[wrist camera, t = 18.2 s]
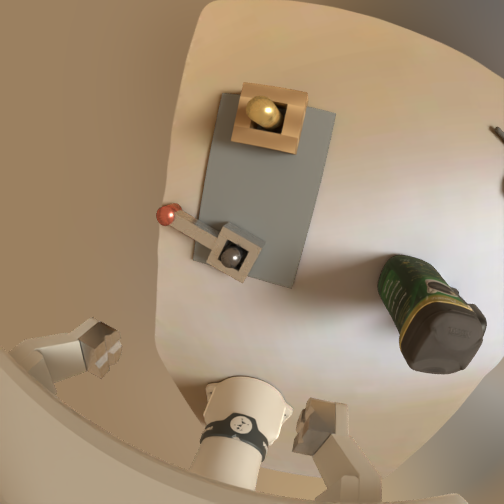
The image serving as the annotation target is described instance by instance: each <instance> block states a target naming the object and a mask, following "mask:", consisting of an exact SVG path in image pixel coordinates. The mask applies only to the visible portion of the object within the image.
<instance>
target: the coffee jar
mask: <svg viewBox="0 0 504 504" xmlns="http://www.w3.org/2000/svg"><path fill="white" fill-rule="evenodd" d="M378 292H379V295H380V297H381V299H382V301H383V303H384V305H385V306H386V308H387V310H388V311H389V313H390V315H391V317H392V319H393V321H394V323H395V325H396V327H397V329H398V331H399V334H400V337H399V346H400V350H401V352H402V354H403V356H404V358H405V360H406V362H407V364H408V365H409V367H410V368H411V369H413V370H415V371H420V372H425V373H432V374H450V373H454V372H457V371H460V370H464V369H465V368H466V367H467V366H468V364H469V363H470V362H471V360H472V359H473V357H474V356H475V354H476V353H477V351H478V349H479V348H480V346H481V344H482V341H483V328H482V325H481V323H480V321H479V319H478V318H477V316H476V314H475V313H474V312H473V311H472V310H471V309H470V308H469V307H468V306H467V305H466V304H465V303H464V302H463V301H462V300H461V299H460V298H459V297H458V296H457V295H456V294H455V293H454V291H453V290H452V289H451V288H450V286H449V285H448V284H447V283H446V282H445V280H444V279H443V278H442V277H441V275H440V274H439V273H438V272H437V270H436V269H435V268H434V267H433V266H432V265H431V264H429V263H427V262H425V261H423V260H420V259H417V258H414V257H411V256H405V255H397V256H394V257H392V258H391V259H389V260H388V262H387V263H386V264H385V266H384V268H383V270H382V273H381V275H380V278H379V282H378Z"/></svg>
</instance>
